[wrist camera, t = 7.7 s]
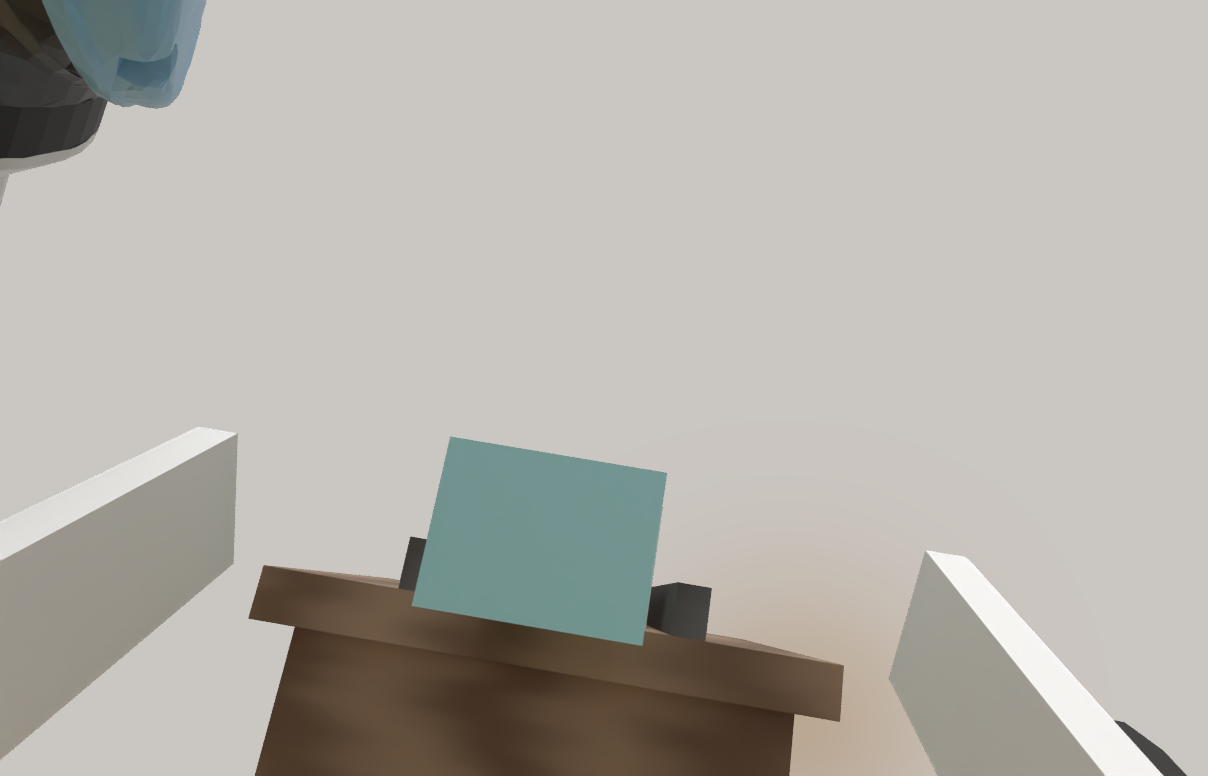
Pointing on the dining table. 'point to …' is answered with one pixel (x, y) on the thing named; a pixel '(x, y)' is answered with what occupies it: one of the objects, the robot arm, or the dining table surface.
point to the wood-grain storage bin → (521, 689)
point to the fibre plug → (543, 541)
